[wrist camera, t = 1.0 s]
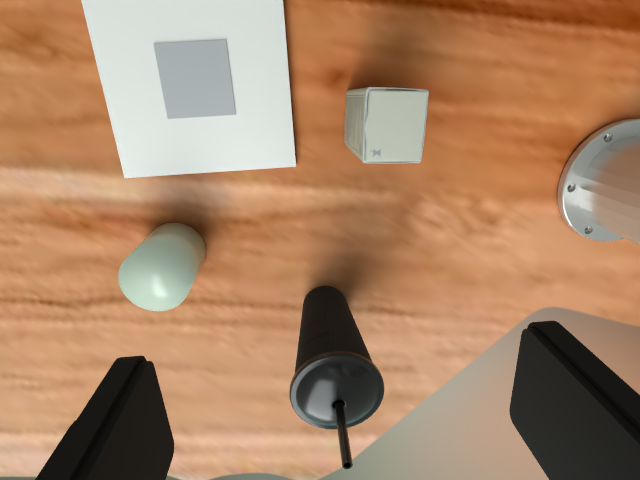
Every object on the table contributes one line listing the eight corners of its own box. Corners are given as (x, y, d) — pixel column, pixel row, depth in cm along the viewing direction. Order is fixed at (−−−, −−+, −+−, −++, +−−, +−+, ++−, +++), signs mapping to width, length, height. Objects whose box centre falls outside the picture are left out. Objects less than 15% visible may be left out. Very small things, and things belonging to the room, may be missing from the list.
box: (387, 145, 38) (421, 168, 28) (342, 145, 38) (361, 167, 27) (391, 87, 36) (431, 88, 26) (345, 86, 36) (366, 86, 25)
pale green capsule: (200, 220, 40) (182, 246, 33) (210, 273, 42) (195, 308, 35) (140, 224, 39) (110, 252, 33) (153, 278, 42) (127, 313, 35)
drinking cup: (314, 344, 46) (328, 520, 27) (277, 297, 43) (265, 456, 25) (370, 312, 45) (425, 473, 26) (336, 262, 42) (369, 401, 24)
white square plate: (280, -31, 32) (280, -35, 31) (295, 164, 38) (295, 166, 37) (81, -21, 32) (74, -25, 30) (128, 175, 37) (124, 178, 36)
